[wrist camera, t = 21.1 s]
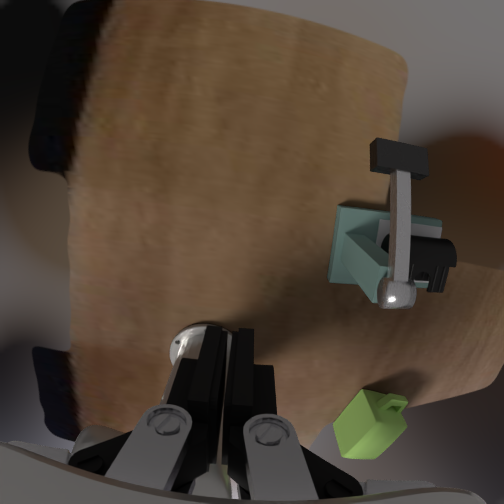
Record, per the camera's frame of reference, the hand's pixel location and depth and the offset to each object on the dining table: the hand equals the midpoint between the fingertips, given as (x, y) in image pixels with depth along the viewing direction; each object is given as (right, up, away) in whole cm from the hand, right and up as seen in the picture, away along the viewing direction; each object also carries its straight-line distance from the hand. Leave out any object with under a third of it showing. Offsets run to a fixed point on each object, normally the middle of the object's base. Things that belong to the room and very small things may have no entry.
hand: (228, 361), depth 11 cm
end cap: (+24, +4, +33) cm, 41 cm away
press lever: (+15, +7, +20) cm, 26 cm away
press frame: (+21, +5, +35) cm, 41 cm away
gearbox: (+23, -29, +45) cm, 58 cm away
